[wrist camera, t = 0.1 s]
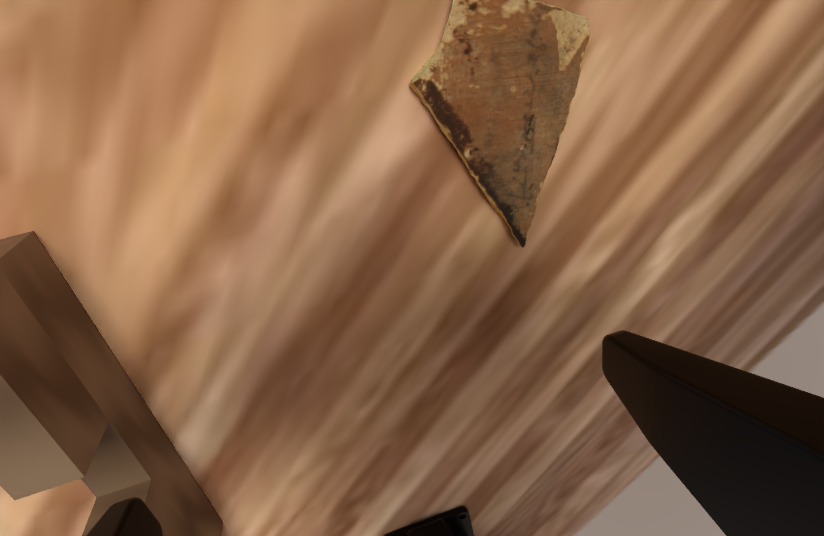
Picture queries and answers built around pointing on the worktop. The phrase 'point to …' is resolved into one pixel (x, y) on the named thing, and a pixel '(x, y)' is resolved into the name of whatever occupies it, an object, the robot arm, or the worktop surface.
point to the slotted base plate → (79, 405)
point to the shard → (505, 95)
